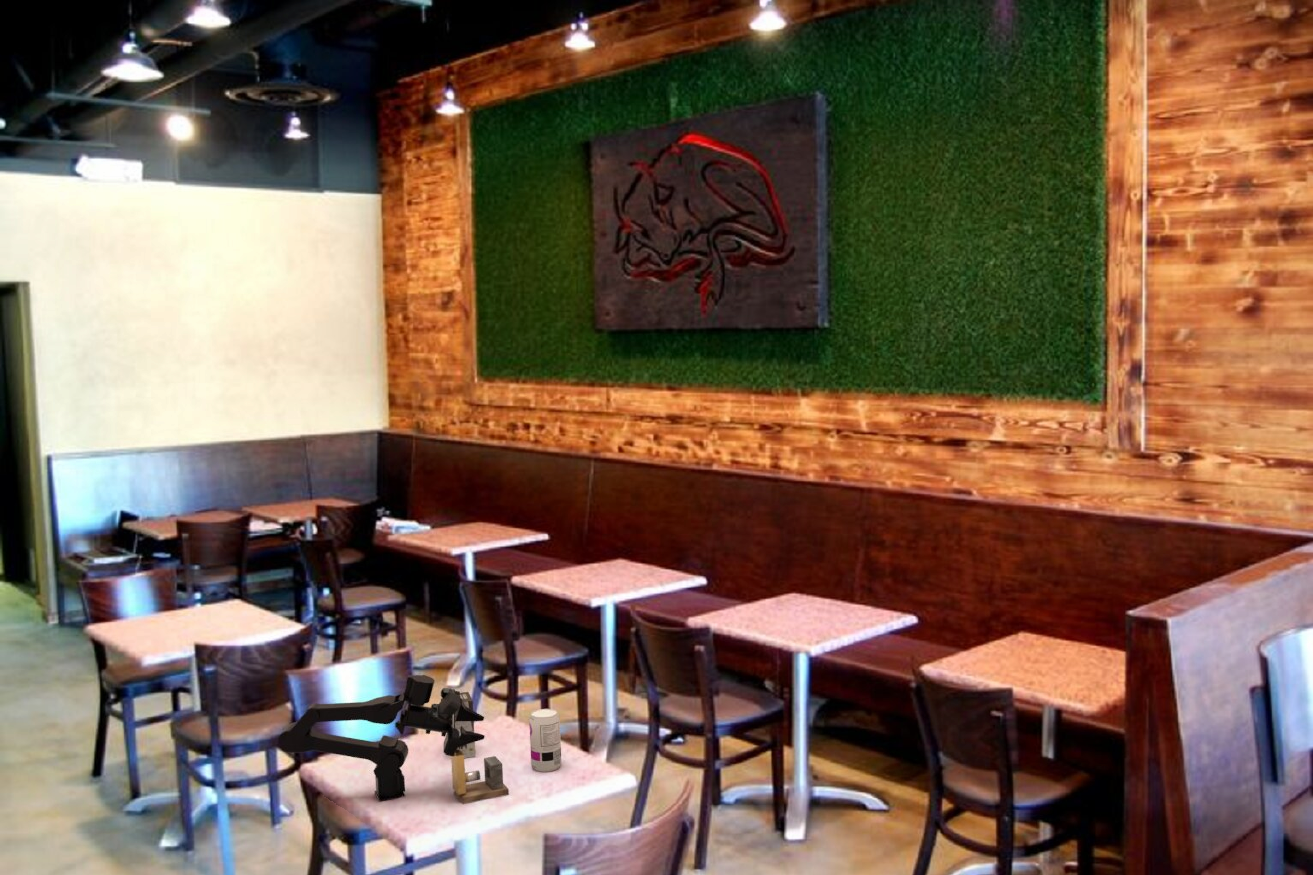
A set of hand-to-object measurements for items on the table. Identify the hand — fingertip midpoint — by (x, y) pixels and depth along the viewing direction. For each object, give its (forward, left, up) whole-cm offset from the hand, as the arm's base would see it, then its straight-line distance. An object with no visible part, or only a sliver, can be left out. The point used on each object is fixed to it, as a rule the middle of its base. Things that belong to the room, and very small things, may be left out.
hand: (484, 727), depth 310 cm
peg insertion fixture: (-2, -5, -15) cm, 16 cm away
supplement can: (+18, +4, -15) cm, 24 cm away
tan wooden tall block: (-7, -5, -13) cm, 16 cm away
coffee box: (+1, +26, -15) cm, 30 cm away
